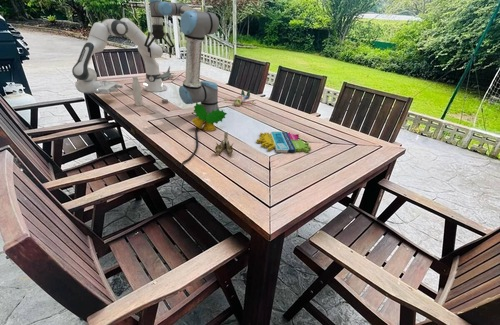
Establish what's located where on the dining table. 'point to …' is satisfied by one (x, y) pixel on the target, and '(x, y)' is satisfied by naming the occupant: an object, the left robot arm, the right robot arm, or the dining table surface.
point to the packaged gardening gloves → (283, 142)
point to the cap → (164, 101)
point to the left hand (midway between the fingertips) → (119, 88)
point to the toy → (241, 99)
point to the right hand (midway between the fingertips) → (160, 57)
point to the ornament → (207, 117)
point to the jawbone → (224, 145)
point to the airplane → (166, 74)
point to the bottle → (137, 91)
